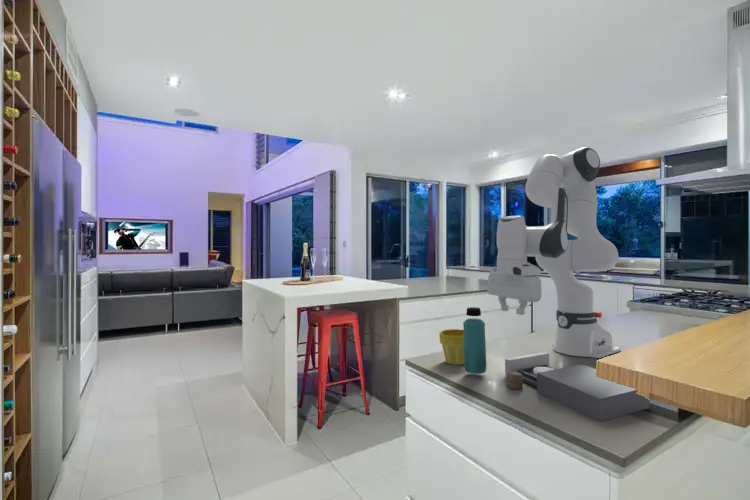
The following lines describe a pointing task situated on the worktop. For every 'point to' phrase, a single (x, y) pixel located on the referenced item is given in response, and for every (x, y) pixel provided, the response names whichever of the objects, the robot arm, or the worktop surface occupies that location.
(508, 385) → the disc stand
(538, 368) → the disc
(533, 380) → the tray
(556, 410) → the worktop surface
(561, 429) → the worktop surface
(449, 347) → the plant pot
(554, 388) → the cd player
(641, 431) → the worktop surface
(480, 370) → the beverage bottle
